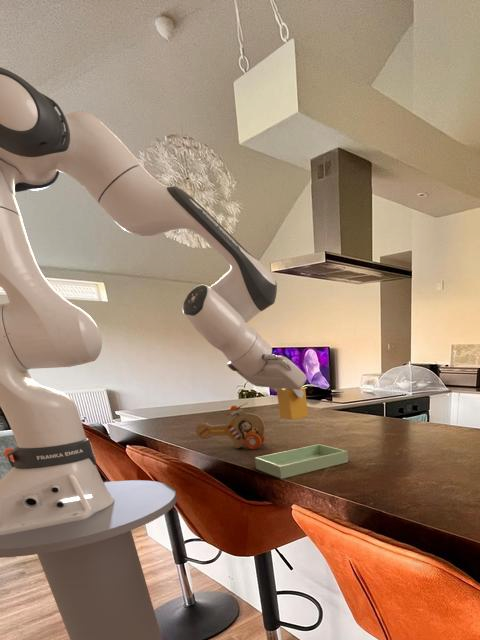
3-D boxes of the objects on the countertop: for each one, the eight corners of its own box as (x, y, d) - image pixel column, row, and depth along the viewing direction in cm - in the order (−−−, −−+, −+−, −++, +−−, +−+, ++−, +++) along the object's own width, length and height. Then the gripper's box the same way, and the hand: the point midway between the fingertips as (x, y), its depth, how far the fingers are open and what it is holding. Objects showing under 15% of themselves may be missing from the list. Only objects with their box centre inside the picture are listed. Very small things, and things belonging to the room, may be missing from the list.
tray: (281, 478, 99) (279, 466, 98) (256, 468, 108) (254, 457, 107) (348, 462, 111) (347, 450, 110) (320, 454, 120) (319, 443, 119)
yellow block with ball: (291, 419, 103) (286, 371, 99) (280, 417, 106) (274, 370, 102) (308, 416, 107) (303, 369, 102) (296, 415, 110) (291, 369, 106)
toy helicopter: (265, 449, 129) (258, 403, 124) (196, 453, 128) (186, 407, 123) (269, 443, 137) (263, 400, 132) (204, 447, 136) (196, 403, 131)
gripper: (285, 343, 89) (326, 387, 99) (237, 345, 102) (277, 383, 112) (270, 367, 87) (312, 408, 98) (223, 366, 101) (265, 402, 111)
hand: (293, 395), depth 105 cm, fingers closed on yellow block with ball, 5 cm apart
